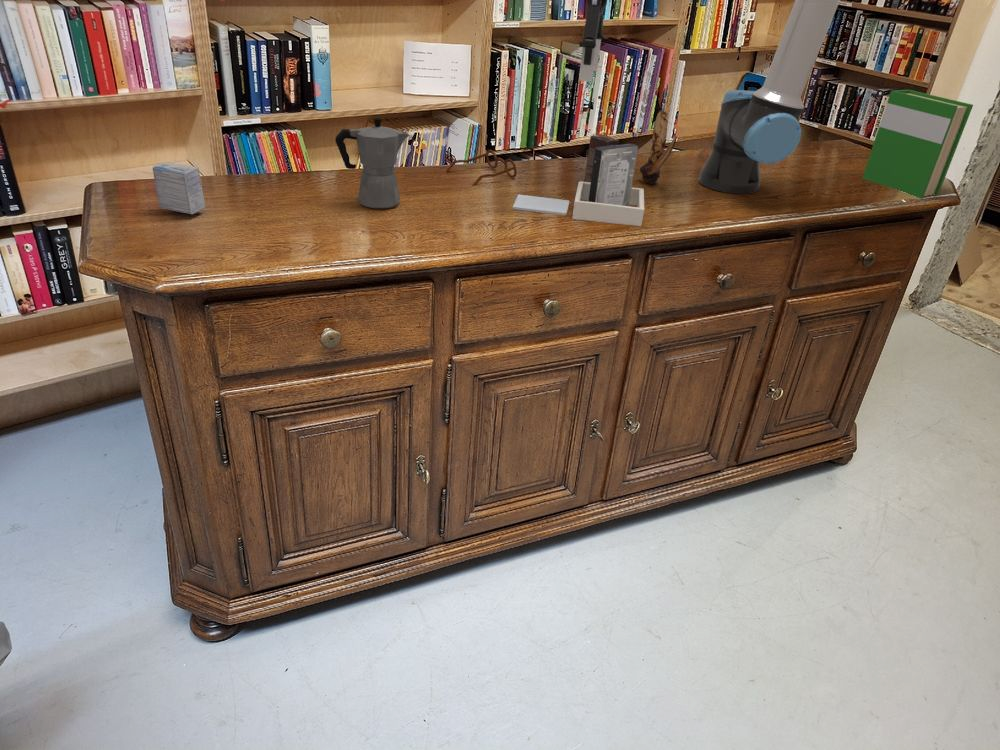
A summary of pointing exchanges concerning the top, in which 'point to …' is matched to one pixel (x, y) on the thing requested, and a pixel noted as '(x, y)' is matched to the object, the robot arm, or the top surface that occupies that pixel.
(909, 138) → the hardback book
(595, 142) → the box
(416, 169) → the top surface
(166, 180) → the medicine box
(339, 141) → the coffeepot
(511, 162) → the glasses
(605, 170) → the disk drive
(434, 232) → the top surface
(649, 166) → the bone fish hook
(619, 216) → the storage box
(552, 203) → the mat
